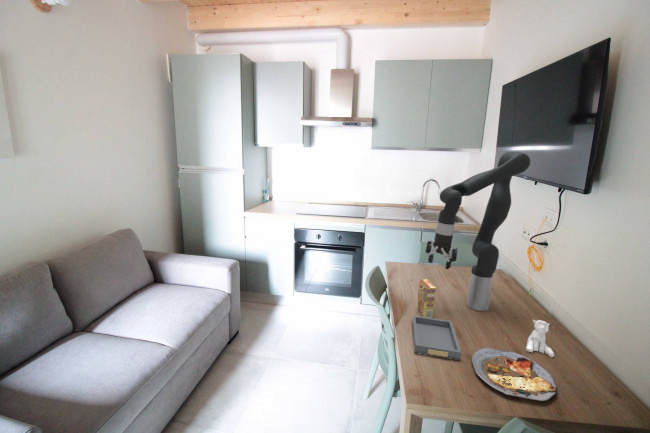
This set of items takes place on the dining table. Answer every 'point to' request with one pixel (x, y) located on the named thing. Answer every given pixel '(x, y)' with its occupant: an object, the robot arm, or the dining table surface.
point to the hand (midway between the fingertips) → (438, 265)
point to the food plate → (521, 367)
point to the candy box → (426, 298)
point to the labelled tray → (435, 337)
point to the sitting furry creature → (539, 339)
